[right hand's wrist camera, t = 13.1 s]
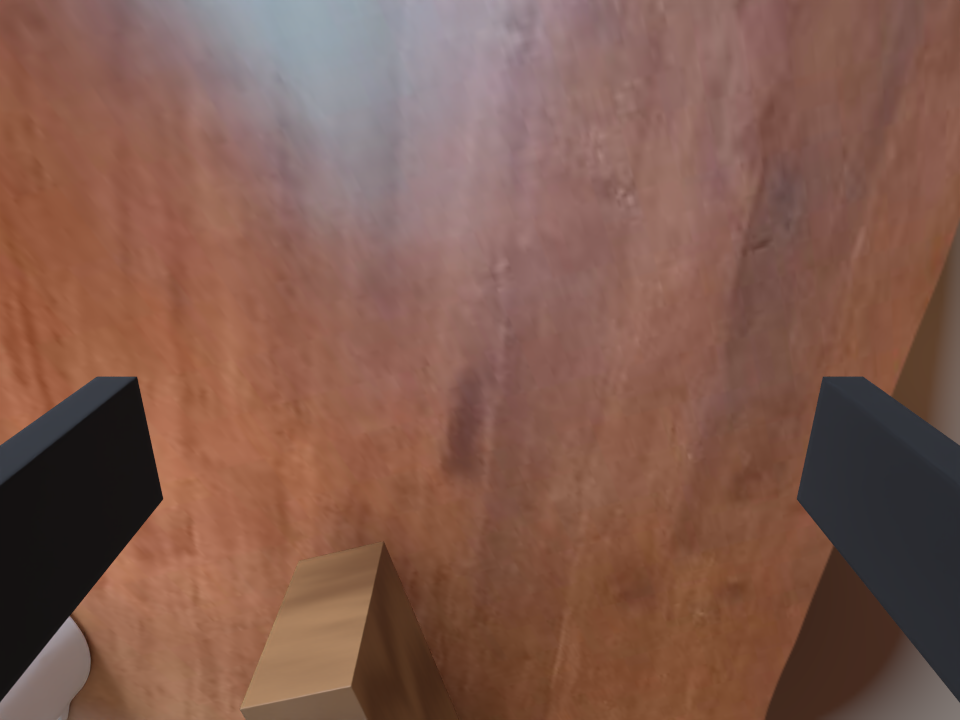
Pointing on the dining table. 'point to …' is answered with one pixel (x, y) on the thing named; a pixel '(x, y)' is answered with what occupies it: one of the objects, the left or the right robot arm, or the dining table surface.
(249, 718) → the box
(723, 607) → the dining table surface
